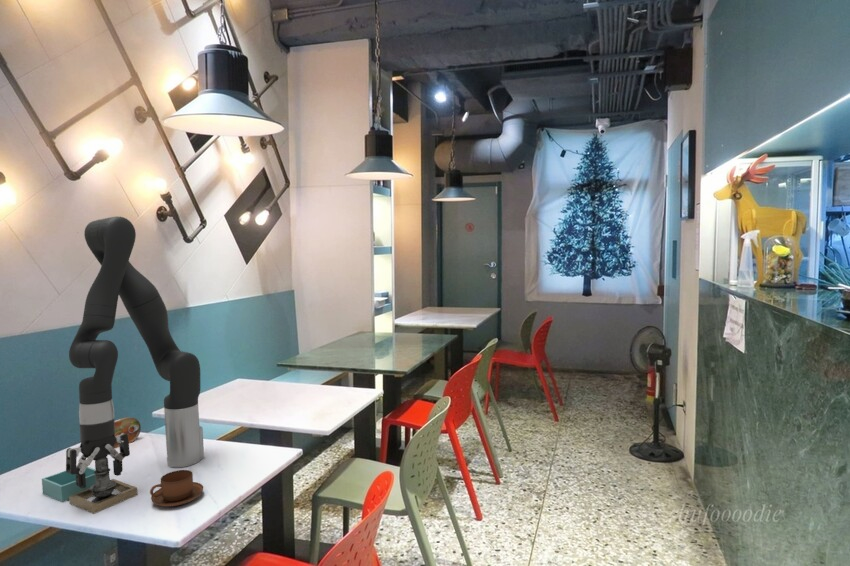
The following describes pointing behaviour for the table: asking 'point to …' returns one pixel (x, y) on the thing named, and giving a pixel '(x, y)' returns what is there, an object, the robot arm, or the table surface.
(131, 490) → the socket collar
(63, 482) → the bin
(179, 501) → the cup and saucer
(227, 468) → the table surface
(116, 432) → the tin
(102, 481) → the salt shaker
